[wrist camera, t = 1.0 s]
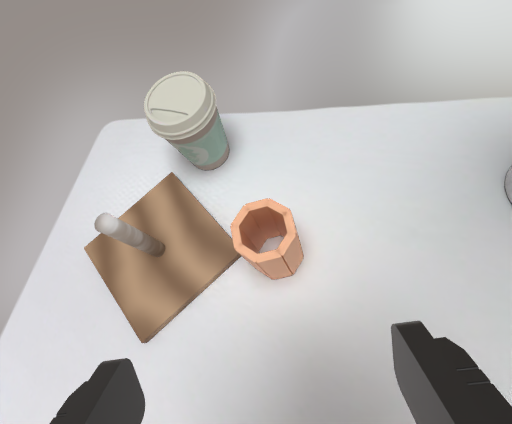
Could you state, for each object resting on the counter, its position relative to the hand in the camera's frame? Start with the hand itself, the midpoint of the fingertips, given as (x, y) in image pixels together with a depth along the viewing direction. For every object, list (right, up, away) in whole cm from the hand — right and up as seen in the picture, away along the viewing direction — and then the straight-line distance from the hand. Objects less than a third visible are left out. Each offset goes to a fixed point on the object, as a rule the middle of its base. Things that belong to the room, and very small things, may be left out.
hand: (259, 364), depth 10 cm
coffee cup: (-7, +13, +37) cm, 40 cm away
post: (-13, -1, +33) cm, 35 cm away
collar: (+3, 0, +29) cm, 30 cm away
